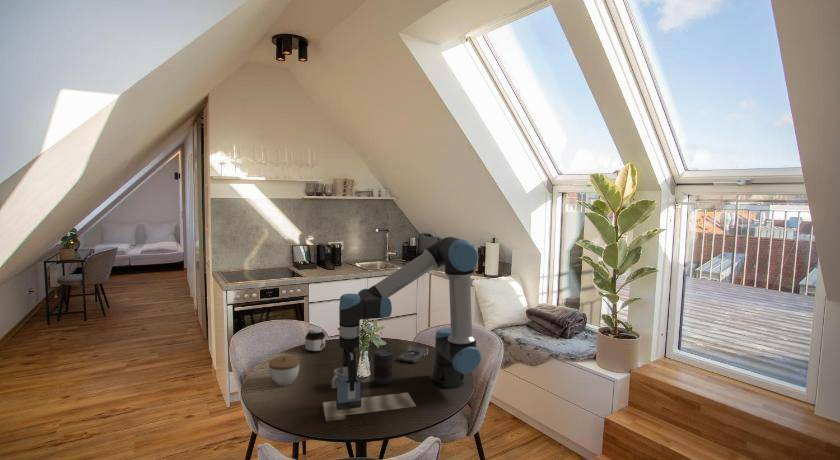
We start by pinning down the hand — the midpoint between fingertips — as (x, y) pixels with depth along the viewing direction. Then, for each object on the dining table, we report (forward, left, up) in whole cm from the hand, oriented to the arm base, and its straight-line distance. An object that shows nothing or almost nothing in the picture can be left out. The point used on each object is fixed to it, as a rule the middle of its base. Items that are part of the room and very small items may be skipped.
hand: (348, 390), depth 171 cm
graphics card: (-38, -46, -9) cm, 61 cm away
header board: (-8, 0, -8) cm, 11 cm away
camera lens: (-17, -17, -8) cm, 25 cm away
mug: (+1, -21, -8) cm, 23 cm away
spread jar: (+8, -69, -8) cm, 70 cm away
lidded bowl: (+23, -32, -8) cm, 40 cm away
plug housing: (0, 0, -3) cm, 3 cm away
